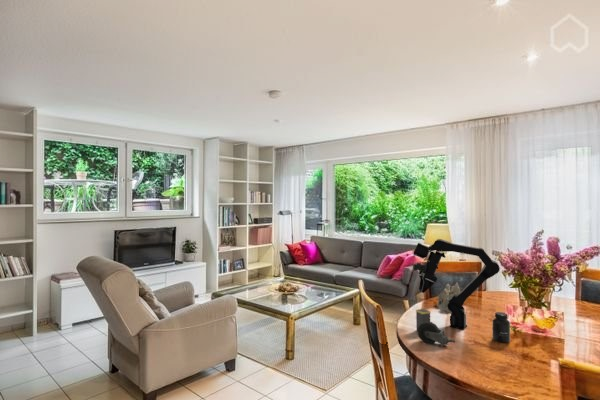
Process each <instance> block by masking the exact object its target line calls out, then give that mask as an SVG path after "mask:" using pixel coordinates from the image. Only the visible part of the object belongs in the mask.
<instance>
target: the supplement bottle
mask: <svg viewBox="0 0 600 400" xmlns="http://www.w3.org/2000/svg"><path fill="white" fill-rule="evenodd" d="M508 319H509V318H508V314H507V313H506V312H501V311H496V312H495V313H494V318H493V319H492V339H493V341H494V342H497V343H500V344H508V343H510V341H511V322H510V321H509V320H508Z"/></svg>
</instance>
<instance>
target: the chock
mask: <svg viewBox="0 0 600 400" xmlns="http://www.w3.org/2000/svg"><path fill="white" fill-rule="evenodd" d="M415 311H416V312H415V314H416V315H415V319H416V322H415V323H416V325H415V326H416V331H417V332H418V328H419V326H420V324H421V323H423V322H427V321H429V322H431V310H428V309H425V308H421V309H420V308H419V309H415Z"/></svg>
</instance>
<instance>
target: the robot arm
mask: <svg viewBox="0 0 600 400" xmlns="http://www.w3.org/2000/svg"><path fill="white" fill-rule="evenodd" d="M445 252H446V253H447V252H448V253H449V252H453V253H460V254H465V255H469V256H470V255H471V256H475V257H478V258H479V260H481V262H482V263H483V266H482V268H481V270H480V271H479V273H477V275H476V276H475V277H474V278H473V279H472V280H471V281H470V282H469V283H468V284H467V285H465V287H464V288H463V289H462V290H461V292H460V293H458V294H455V293H453V295H452V296H451V297H449V299H448V305H447V306H448V309H449V310H450V311H451V312H450V315H449V327H451V328H453V329H454V328H455V329H459V330H465V329H466V328H467V327H468V324H467V315H466V311H465V307H464V304H465V301H467V299H468V298H469V297H470V296H471V295H472V294H473V293H475V291H476V290H478V289H479V287H481V285H482V284H483V283H484V282H486V281H487V280H488V279H491V278H493V277H494V276H495V275H497V274H498V273H499V272H500V270H501V269H500V265H499V263H498V262H497V261H495V260H493V259H492V258H491V257H490V256H489V254H488V253H486V251H485V250H484V248H482V247H475V246H470V245H464V244H463V245H462V244H457V243H452V242H451V241H448V240H445V239H442V238H438V239H437V238H436V239H435V240H434V242H433V244H431V245H429V246H427V245H424V244H422V243H421V242H418V243H417V244H416V247H415V249H414V251H413V253H412V255H413V256H415V257H418V258H420V259H426V261H425V262H424V263H423V264H422V263H421V262H417V263H412V270H413V271H417V272H418V273H417V274H418V277H419V285H418V290H419V291H421V293H422V294H424V293H426V291H428V290H429V289H430V288H431V287H432V286H433V285H434V284H435V283H437V281H438V277H437V276H436V272H437V270H439V267H438V266H439V264H440V261H441V259H442V258H445V259H446V255H445ZM462 305H463V306H462Z"/></svg>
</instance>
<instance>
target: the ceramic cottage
mask: <svg viewBox="0 0 600 400" xmlns="http://www.w3.org/2000/svg"><path fill="white" fill-rule="evenodd" d="M461 291H462V290H461V287H459V283H458V282H456V283H455V284H454V285H451V286H450V284H449V283H447V284H445V288H444V289H443V290H442V291H441V293H440V294H439V293H438V295H437V297H438V299H437V303H436V306H437V308H439V310H440V311H442V312H447V313H452V312H451V311H450V310H449V309H448V306H447V305H448V299H449V297H451V296H452V295H453V293H455V294H458V293H460V292H461ZM462 306H463V307H464V304H463V305H462Z"/></svg>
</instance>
